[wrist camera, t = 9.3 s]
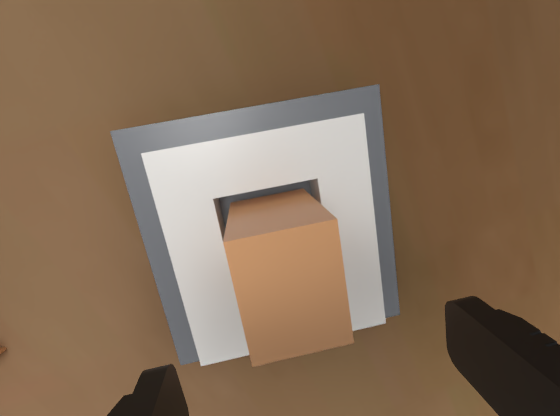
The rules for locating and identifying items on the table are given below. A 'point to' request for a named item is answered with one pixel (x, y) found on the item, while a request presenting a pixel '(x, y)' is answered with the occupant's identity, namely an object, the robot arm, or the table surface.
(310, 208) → the cardboard parcel
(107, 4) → the table surface
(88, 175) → the table surface
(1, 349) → the arch
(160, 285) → the socket plate
